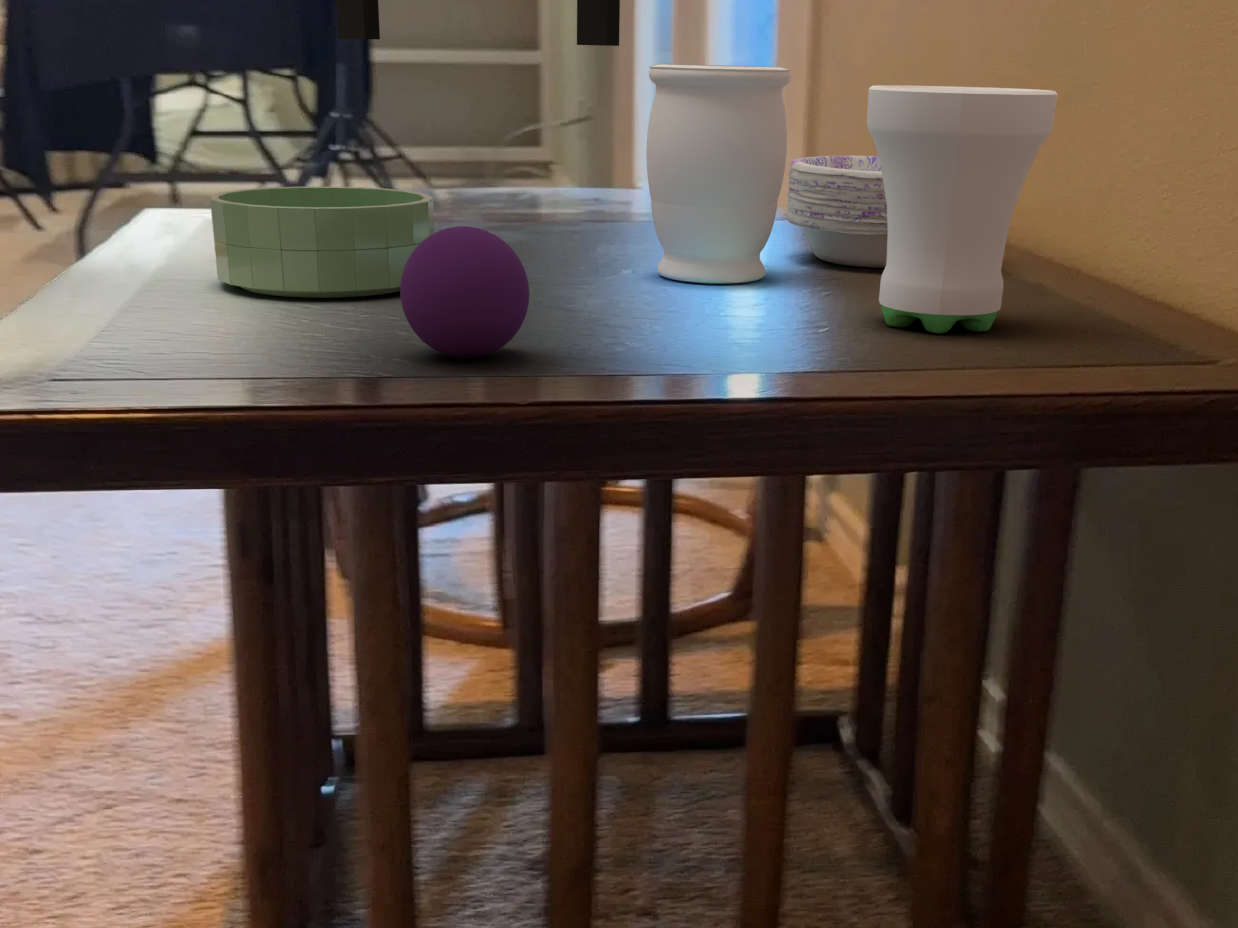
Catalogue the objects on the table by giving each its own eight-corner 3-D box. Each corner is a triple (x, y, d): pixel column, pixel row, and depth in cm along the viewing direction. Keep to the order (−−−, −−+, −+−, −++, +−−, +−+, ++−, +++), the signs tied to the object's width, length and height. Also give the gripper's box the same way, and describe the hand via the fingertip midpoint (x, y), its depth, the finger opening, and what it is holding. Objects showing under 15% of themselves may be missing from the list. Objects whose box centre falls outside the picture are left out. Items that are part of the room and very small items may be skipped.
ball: (380, 363, 75) (373, 229, 72) (438, 340, 81) (434, 216, 78) (498, 375, 73) (496, 237, 70) (548, 350, 79) (548, 223, 76)
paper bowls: (932, 280, 107) (943, 172, 104) (754, 263, 114) (759, 161, 110) (989, 258, 119) (1000, 161, 116) (825, 244, 126) (832, 152, 123)
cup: (1022, 314, 93) (1051, 88, 88) (1031, 345, 83) (1065, 92, 78) (854, 305, 95) (873, 84, 90) (843, 334, 85) (864, 86, 80)
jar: (625, 268, 109) (629, 62, 103) (746, 265, 112) (757, 65, 106) (670, 289, 100) (677, 65, 94) (801, 285, 103) (815, 68, 97)
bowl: (173, 291, 95) (163, 199, 92) (293, 263, 108) (287, 182, 106) (370, 308, 90) (364, 212, 88) (469, 276, 104) (467, 192, 101)
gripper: (230, -611, 49) (277, 36, 58) (751, -454, 63) (728, 48, 72) (156, -548, 55) (208, 34, 63) (651, -416, 69) (640, 46, 77)
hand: (485, 43), depth 68 cm, fingers open, 13 cm apart
